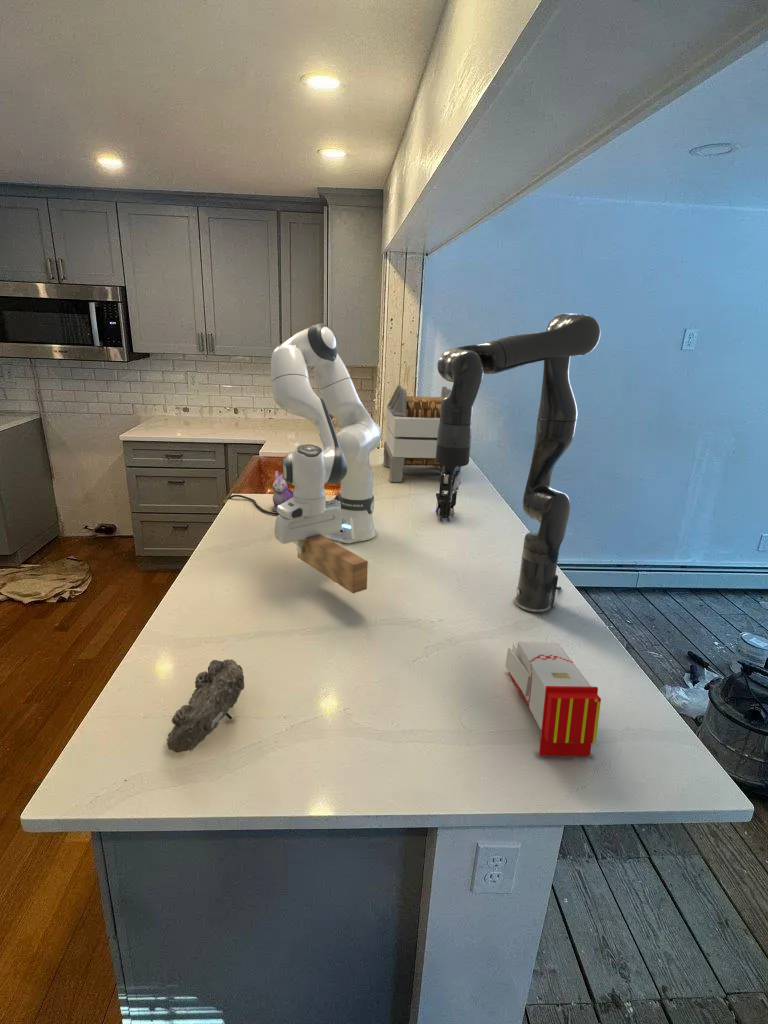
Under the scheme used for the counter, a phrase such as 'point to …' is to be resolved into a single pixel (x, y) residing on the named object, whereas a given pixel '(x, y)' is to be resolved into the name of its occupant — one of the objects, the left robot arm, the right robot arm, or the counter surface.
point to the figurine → (280, 491)
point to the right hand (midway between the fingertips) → (447, 510)
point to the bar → (335, 562)
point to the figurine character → (439, 508)
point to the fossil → (206, 705)
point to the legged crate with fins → (411, 432)
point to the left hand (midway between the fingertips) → (309, 550)
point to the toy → (556, 697)
